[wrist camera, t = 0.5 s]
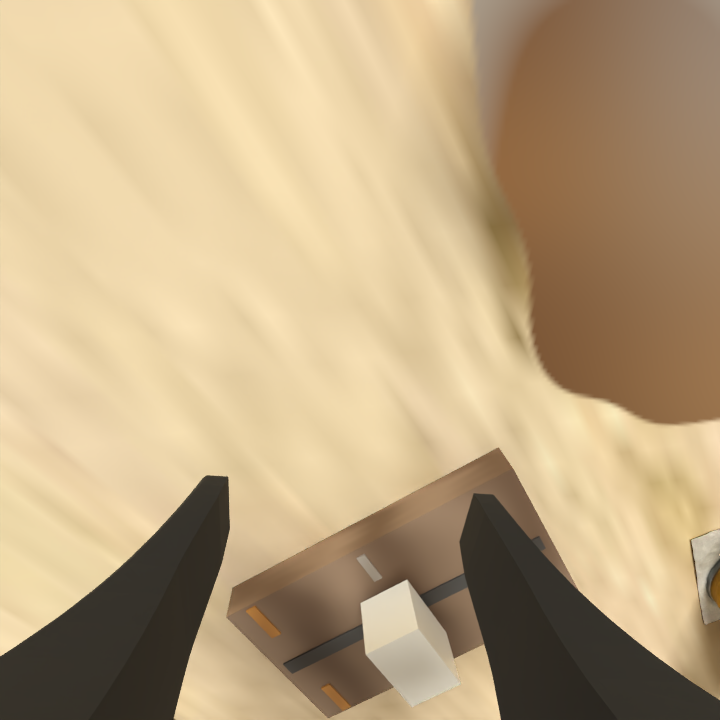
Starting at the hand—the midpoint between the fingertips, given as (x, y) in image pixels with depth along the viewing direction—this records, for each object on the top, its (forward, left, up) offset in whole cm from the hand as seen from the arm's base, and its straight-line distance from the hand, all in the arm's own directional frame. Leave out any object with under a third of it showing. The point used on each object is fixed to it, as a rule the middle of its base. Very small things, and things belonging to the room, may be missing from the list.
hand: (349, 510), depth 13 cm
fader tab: (-4, -14, -8) cm, 17 cm away
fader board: (-4, -14, -10) cm, 18 cm away
